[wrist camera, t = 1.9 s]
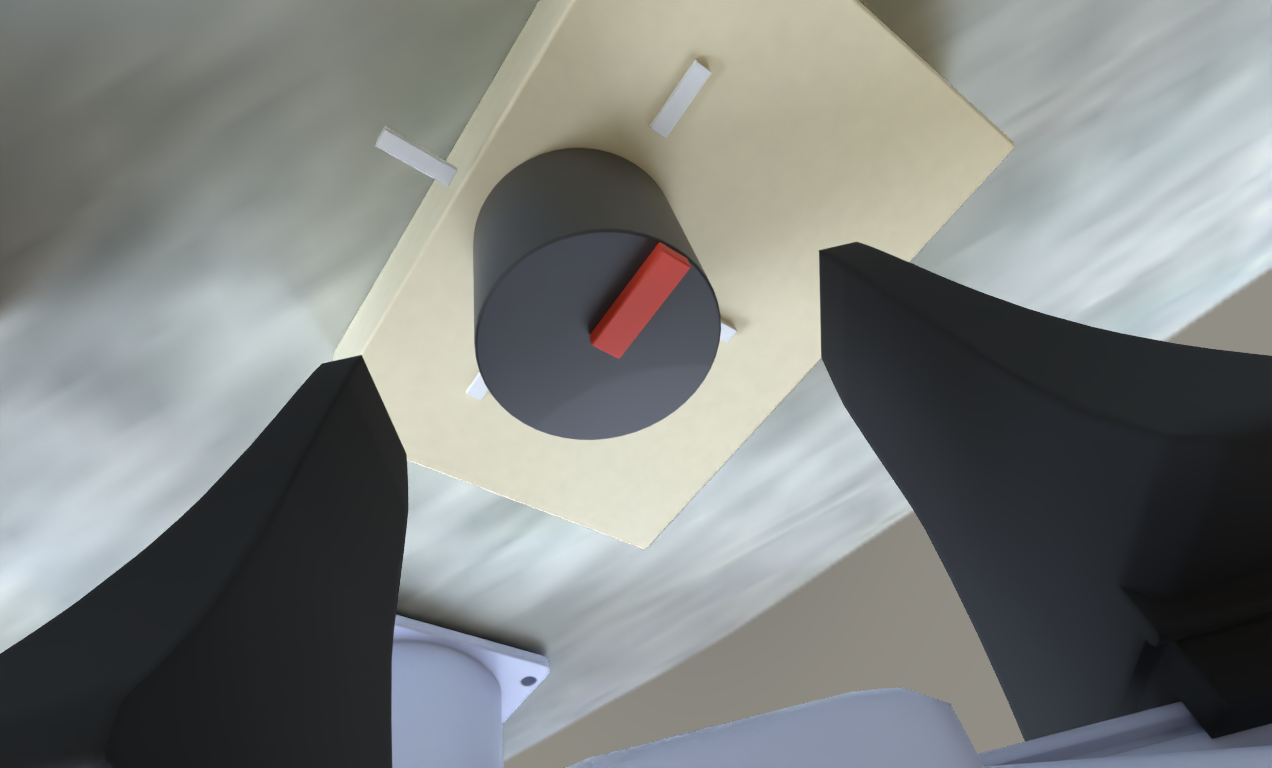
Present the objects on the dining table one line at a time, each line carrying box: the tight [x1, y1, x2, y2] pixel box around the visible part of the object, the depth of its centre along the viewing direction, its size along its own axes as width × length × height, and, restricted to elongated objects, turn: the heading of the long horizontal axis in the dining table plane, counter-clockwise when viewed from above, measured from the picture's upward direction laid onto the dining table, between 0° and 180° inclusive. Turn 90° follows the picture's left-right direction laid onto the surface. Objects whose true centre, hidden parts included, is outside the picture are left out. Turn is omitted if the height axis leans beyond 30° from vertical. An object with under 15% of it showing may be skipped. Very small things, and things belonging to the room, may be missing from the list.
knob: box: [473, 148, 721, 440], centre depth 14 cm, size 4×4×4 cm
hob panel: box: [332, 0, 1015, 549], centre depth 17 cm, size 13×11×3 cm
